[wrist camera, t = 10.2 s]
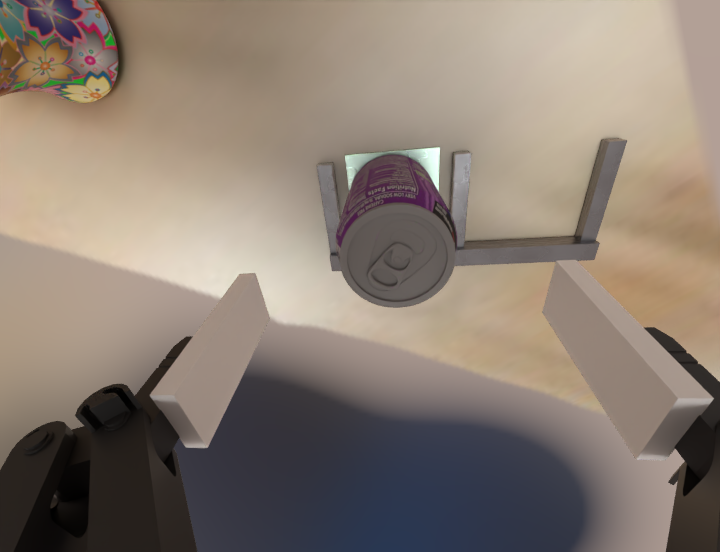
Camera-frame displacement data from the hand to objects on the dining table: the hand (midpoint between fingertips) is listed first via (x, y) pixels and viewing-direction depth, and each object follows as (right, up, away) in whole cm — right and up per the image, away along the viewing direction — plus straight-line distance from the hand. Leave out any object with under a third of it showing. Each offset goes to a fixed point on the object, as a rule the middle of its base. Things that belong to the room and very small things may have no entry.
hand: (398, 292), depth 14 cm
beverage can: (+1, +8, +13) cm, 15 cm away
